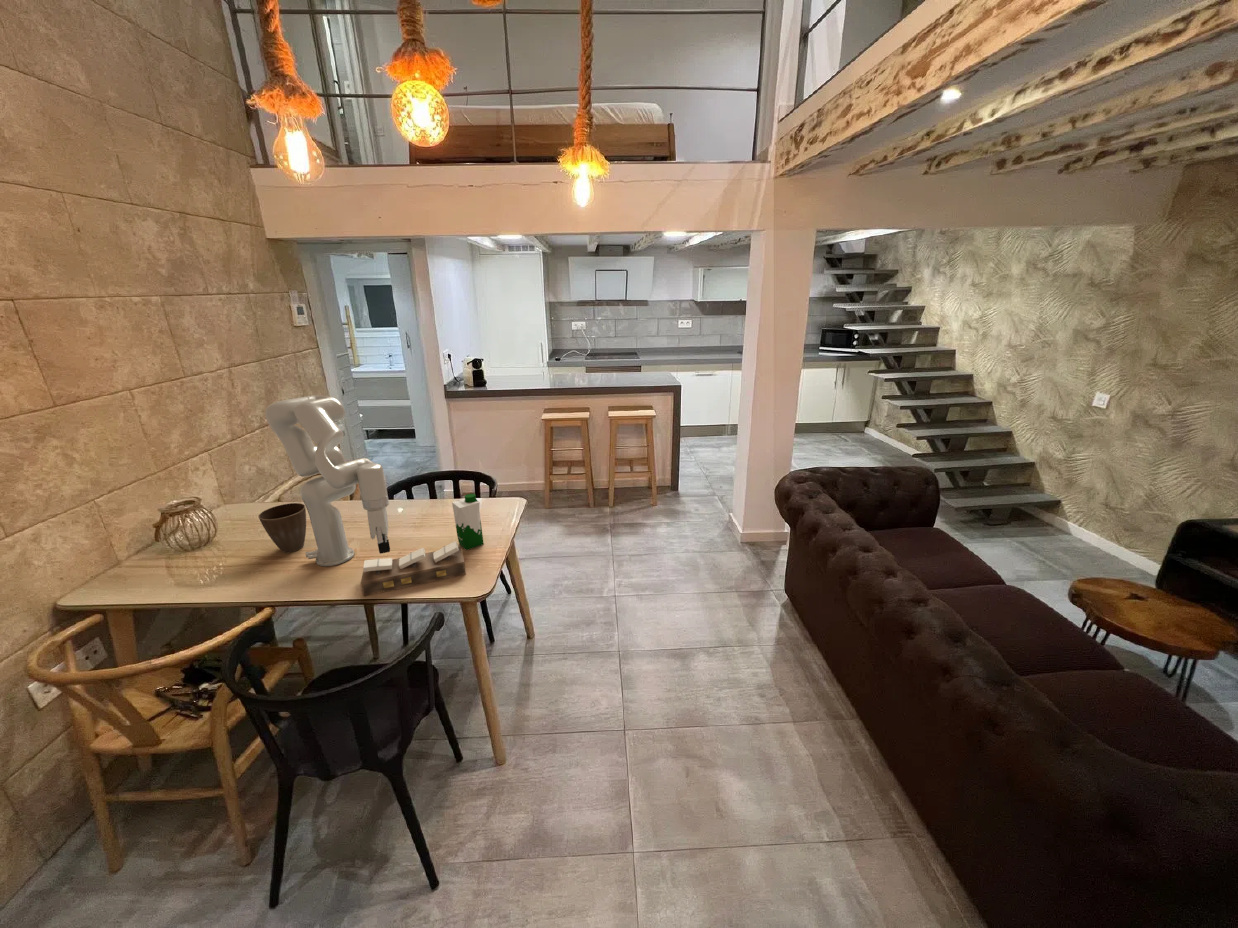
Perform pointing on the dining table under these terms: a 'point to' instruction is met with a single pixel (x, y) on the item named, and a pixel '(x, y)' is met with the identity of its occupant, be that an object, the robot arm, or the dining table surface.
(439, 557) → the rocker
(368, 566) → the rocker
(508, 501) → the dining table surface
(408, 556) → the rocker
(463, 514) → the milk carton
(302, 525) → the plant pot
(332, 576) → the dining table surface
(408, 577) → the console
